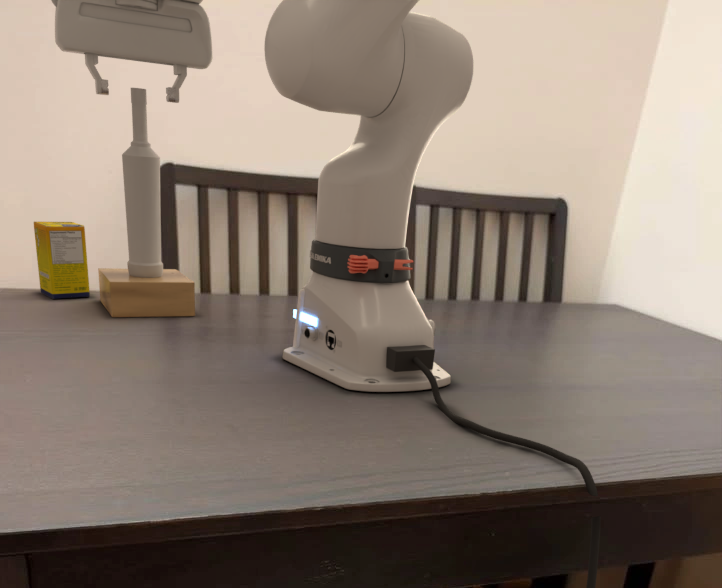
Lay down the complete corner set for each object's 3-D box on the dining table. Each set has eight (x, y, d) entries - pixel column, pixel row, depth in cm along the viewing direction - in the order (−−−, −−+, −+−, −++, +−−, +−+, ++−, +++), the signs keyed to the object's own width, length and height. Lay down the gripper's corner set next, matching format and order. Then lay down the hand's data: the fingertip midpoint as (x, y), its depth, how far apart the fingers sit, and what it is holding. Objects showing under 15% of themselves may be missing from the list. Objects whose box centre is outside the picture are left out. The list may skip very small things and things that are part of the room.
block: (195, 316, 110) (194, 282, 108) (112, 317, 105) (109, 281, 103) (177, 300, 119) (176, 269, 117) (100, 300, 114) (98, 268, 112)
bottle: (127, 271, 111) (118, 87, 101) (162, 272, 113) (156, 91, 103) (128, 277, 107) (118, 85, 97) (164, 278, 109) (159, 89, 98)
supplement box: (76, 290, 120) (71, 221, 116) (90, 297, 116) (85, 225, 112) (39, 292, 116) (32, 220, 112) (52, 299, 112) (45, 225, 108)
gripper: (49, -41, 88) (59, 88, 93) (215, -11, 97) (216, 105, 102) (45, -31, 93) (55, 90, 99) (203, -4, 102) (204, 107, 107)
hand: (138, 98), depth 100 cm, fingers open, 8 cm apart
